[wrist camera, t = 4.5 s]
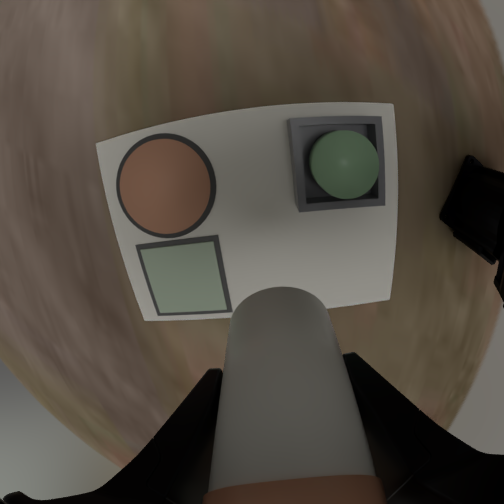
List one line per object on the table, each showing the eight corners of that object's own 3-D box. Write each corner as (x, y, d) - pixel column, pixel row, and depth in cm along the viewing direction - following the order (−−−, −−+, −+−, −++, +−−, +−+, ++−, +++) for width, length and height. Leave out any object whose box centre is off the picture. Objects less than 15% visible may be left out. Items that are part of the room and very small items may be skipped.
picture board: (390, 104, 16) (394, 103, 16) (387, 296, 23) (390, 300, 22) (99, 143, 18) (94, 143, 18) (146, 317, 25) (144, 322, 24)
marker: (249, 268, 10) (229, 601, 1) (351, 303, 10) (439, 550, 2) (214, 349, 11) (177, 576, 3) (302, 373, 12) (325, 576, 3)
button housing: (368, 117, 16) (381, 116, 14) (373, 197, 19) (385, 205, 17) (286, 120, 17) (289, 118, 15) (295, 203, 19) (299, 212, 17)
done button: (368, 130, 15) (377, 130, 14) (371, 191, 17) (379, 197, 15) (305, 131, 15) (309, 131, 14) (311, 196, 17) (315, 201, 16)
